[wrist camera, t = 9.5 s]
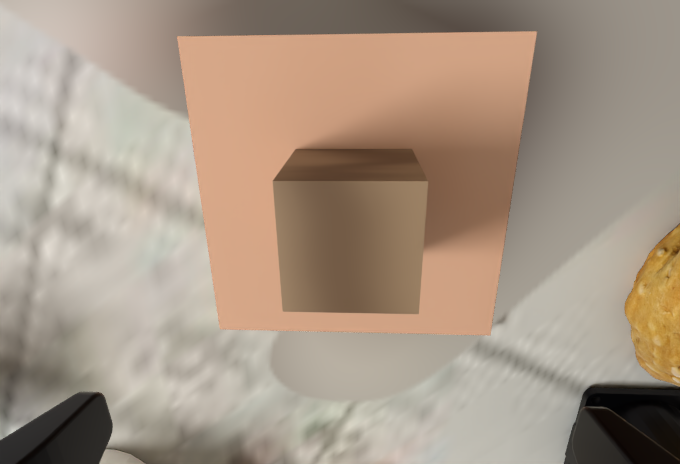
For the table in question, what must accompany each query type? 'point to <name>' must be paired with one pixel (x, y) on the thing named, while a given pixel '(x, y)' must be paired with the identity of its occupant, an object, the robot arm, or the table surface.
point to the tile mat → (359, 133)
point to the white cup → (118, 458)
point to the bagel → (658, 310)
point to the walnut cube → (351, 230)
